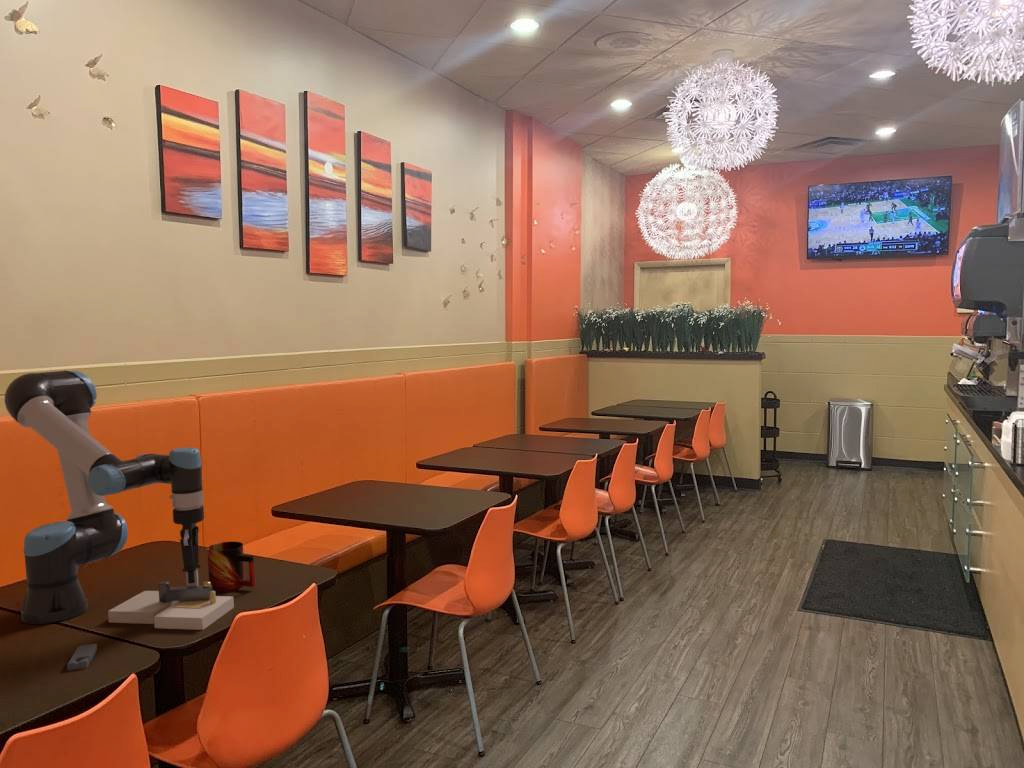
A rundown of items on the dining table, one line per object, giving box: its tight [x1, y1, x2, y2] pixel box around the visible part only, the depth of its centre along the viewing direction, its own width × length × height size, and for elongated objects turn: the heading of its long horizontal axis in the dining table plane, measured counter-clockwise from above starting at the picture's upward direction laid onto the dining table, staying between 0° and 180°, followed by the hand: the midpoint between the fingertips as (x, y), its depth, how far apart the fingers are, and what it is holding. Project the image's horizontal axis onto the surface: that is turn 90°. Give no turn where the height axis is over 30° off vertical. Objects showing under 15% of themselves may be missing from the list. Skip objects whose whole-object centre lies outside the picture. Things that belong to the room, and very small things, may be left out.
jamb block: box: [107, 590, 178, 625], centre depth 200 cm, size 12×15×3 cm
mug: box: [206, 541, 256, 594], centre depth 218 cm, size 10×14×12 cm
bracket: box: [66, 643, 98, 671], centre depth 171 cm, size 4×10×2 cm, turn 18°
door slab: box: [153, 591, 235, 631], centre depth 195 cm, size 13×15×6 cm
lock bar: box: [157, 580, 213, 602], centre depth 199 cm, size 13×3×5 cm, turn 93°
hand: (193, 593), depth 201 cm, fingers closed
